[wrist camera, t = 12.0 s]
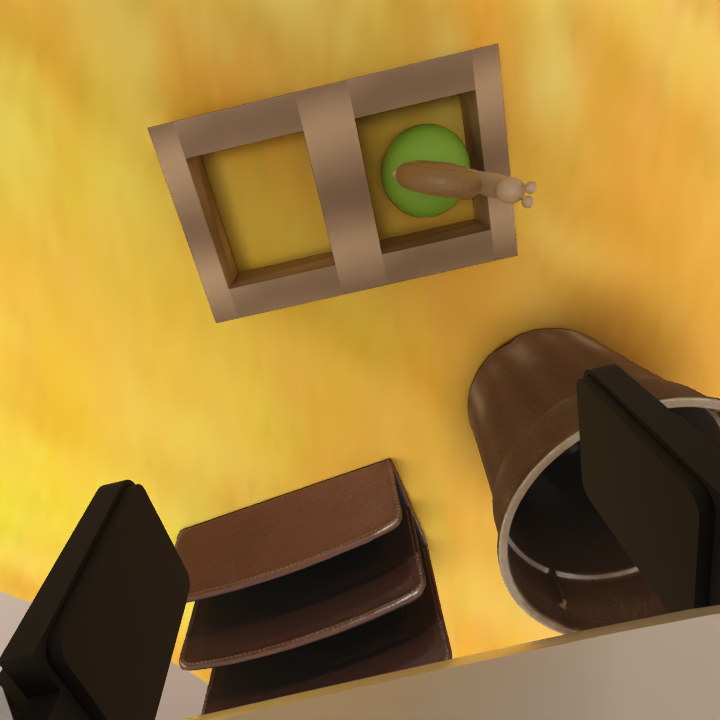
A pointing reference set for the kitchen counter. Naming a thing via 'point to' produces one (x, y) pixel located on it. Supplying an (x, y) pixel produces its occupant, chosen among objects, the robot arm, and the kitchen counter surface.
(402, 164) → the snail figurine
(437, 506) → the kitchen counter surface
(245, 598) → the letter holder
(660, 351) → the kitchen counter surface
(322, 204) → the brown wooden flat frame
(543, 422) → the plant pot
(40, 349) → the kitchen counter surface
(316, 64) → the kitchen counter surface
